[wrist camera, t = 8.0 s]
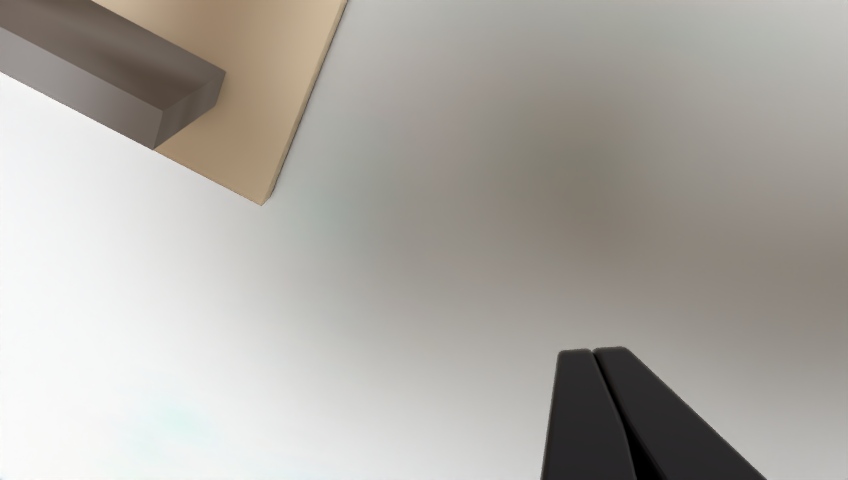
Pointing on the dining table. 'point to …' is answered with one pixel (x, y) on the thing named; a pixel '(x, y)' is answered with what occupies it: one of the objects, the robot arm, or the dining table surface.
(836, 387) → the dining table surface
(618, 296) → the dining table surface
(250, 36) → the beige base board
